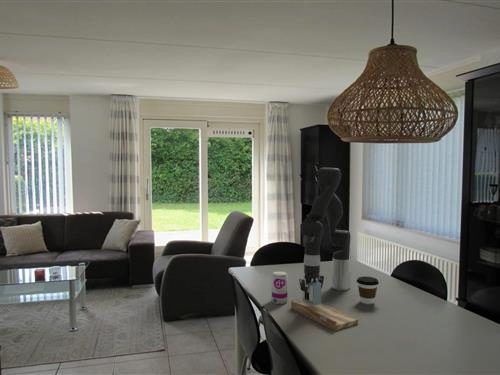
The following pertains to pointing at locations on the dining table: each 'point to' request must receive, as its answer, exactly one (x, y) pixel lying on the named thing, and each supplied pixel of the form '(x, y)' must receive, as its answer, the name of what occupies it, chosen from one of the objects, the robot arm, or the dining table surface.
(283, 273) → the supplement can
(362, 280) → the coffee cup
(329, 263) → the dining table surface
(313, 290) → the carton
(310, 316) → the wooden plank
